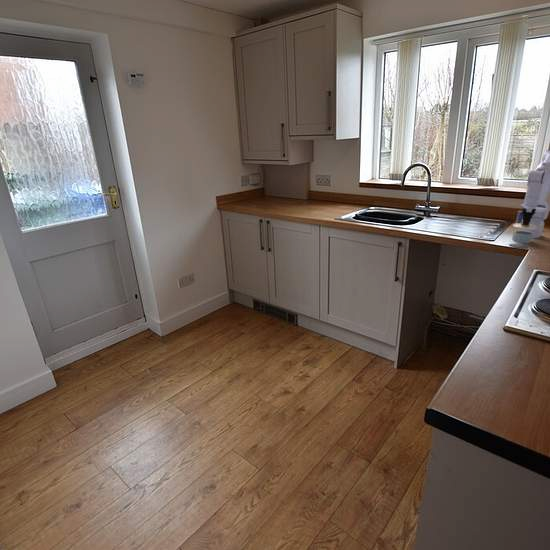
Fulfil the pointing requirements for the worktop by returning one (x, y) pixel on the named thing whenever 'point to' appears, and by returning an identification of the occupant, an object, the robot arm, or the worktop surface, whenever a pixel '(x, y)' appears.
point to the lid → (525, 226)
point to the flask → (519, 217)
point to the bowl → (522, 236)
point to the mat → (518, 246)
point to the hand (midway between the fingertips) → (525, 223)
